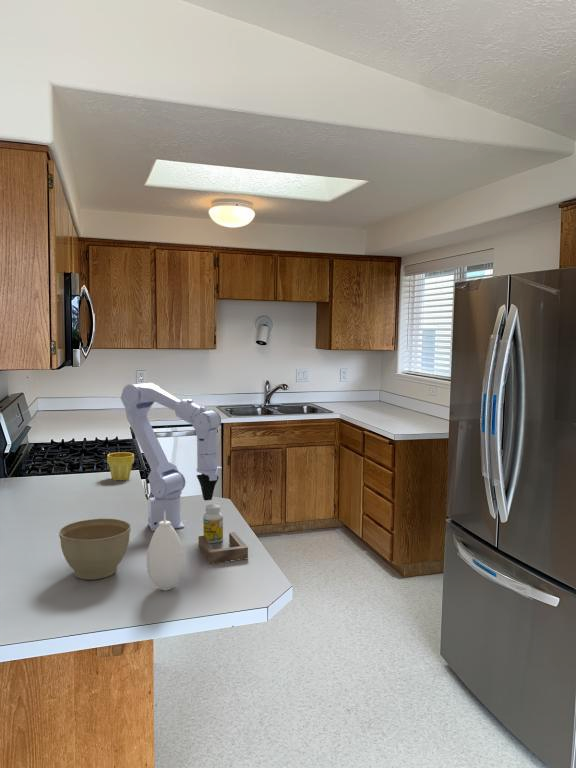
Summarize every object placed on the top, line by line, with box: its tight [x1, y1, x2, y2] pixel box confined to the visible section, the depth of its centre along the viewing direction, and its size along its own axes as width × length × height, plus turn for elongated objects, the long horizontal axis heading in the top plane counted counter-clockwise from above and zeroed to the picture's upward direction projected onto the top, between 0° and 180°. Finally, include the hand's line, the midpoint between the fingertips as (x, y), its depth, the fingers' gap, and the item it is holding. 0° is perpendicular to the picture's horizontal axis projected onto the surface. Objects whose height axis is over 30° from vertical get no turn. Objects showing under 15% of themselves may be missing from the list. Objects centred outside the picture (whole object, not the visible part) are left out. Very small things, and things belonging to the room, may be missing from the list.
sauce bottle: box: [146, 511, 184, 592], centre depth 130 cm, size 8×8×18 cm
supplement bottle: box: [202, 504, 224, 544], centre depth 161 cm, size 5×5×10 cm
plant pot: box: [106, 451, 135, 481], centre depth 230 cm, size 10×10×10 cm
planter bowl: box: [58, 518, 131, 580], centre depth 139 cm, size 16×16×11 cm
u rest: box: [198, 531, 249, 565], centre depth 152 cm, size 10×12×3 cm
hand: (207, 499), depth 167 cm, fingers closed
